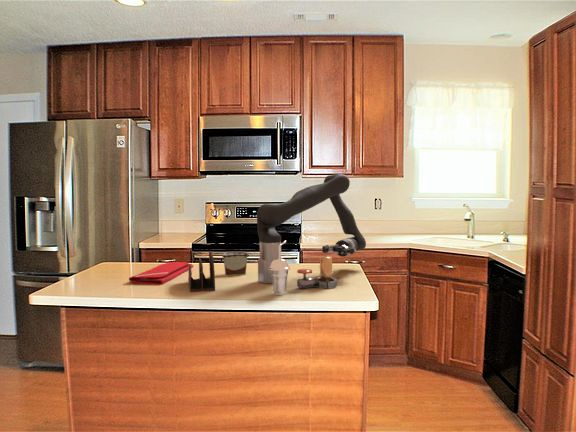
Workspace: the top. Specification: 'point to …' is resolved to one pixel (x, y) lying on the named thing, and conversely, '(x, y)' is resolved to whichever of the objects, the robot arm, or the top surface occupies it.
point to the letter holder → (203, 278)
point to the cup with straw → (279, 274)
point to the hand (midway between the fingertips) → (333, 251)
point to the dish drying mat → (161, 273)
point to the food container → (235, 263)
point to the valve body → (313, 281)
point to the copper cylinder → (326, 268)
